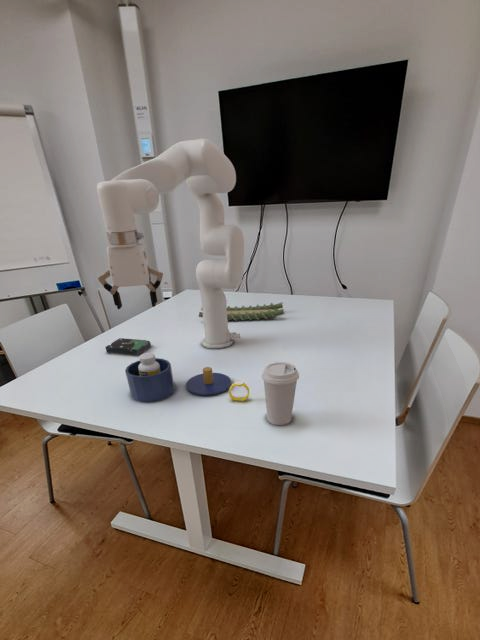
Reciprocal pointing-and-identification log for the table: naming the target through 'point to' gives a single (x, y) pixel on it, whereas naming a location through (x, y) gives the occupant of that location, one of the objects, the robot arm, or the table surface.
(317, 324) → the table surface
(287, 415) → the coffee cup
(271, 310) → the green spiky bar
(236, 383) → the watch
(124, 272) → the robot arm
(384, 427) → the table surface
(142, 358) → the pill bottle
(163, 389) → the tin
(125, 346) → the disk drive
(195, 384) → the lid
